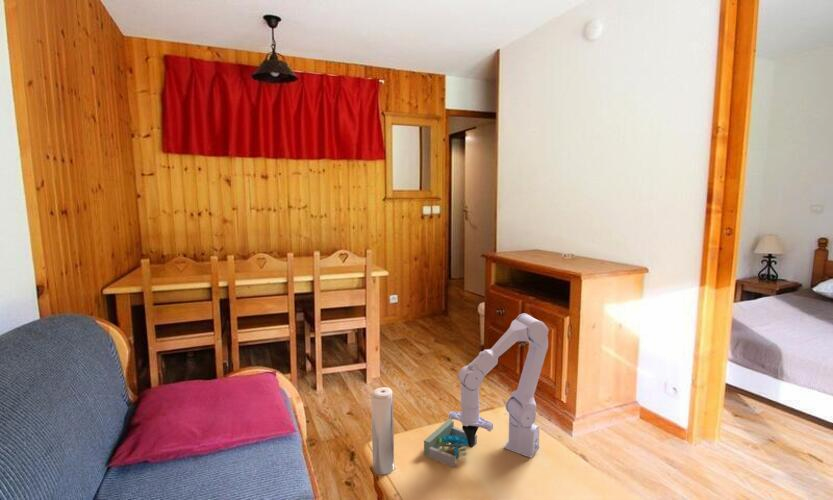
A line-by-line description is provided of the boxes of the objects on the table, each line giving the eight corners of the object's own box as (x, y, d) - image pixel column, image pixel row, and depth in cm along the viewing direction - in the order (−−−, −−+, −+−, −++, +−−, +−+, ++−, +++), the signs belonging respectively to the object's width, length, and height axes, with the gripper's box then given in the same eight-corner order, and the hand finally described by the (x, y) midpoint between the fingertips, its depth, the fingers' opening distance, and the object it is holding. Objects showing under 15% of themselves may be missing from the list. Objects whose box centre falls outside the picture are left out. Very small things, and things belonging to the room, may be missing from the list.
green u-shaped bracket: (476, 443, 142) (477, 429, 141) (453, 467, 129) (453, 452, 128) (448, 432, 148) (448, 419, 147) (424, 455, 135) (424, 440, 135)
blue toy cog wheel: (475, 441, 140) (469, 433, 132) (474, 461, 136) (468, 454, 129) (442, 440, 143) (435, 432, 135) (441, 459, 139) (433, 452, 132)
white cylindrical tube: (384, 458, 134) (383, 384, 130) (398, 468, 129) (397, 391, 126) (368, 468, 129) (366, 391, 126) (382, 478, 124) (380, 398, 121)
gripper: (443, 404, 133) (444, 444, 135) (485, 416, 125) (486, 459, 127) (454, 395, 139) (455, 433, 141) (495, 406, 131) (495, 447, 132)
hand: (470, 445), depth 134 cm, fingers closed, pressing on blue toy cog wheel
